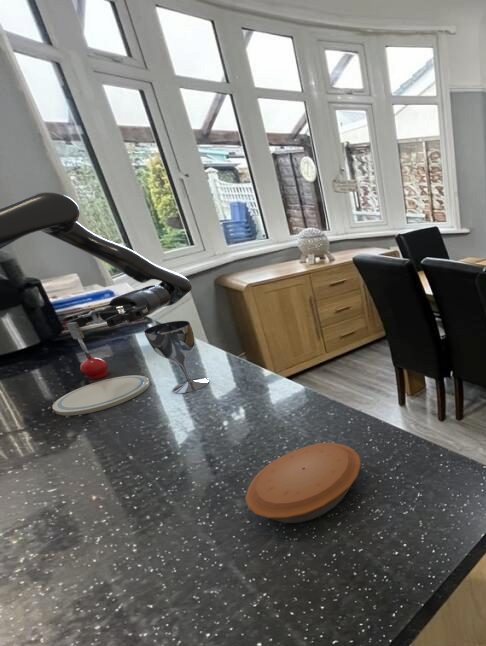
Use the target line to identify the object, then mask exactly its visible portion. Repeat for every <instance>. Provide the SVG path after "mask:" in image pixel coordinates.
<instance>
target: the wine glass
mask: <svg viewBox="0 0 486 646" xmlns="http://www.w3.org/2000/svg"><path fill="white" fill-rule="evenodd" d="M193 331H194V330H193V328H192V326H191V323H190V322H189V321H187V320H174V321H173V320H172V321H168V322H163V323H160V324H155V325H152V326H150V327H148V328H146V329H145V330H144V331H143V333H144V335H145V338H146V340H147V341H148V344H149V345H150V346H151V348H152V349H153V350H154V352H155V353H156V354H157V355H159V356H160V357H162V358H164V359H166V360H169V361H171V362H174V363H175V364H176V365H178V366H179V368H180V369H181V371H182V373H183V374H184V377H185V379H186V380H185V381H182V382H181V383H179V384H177V385H176V386H174V387H173V388H172V392H173V393H174V394H186V393H191V392H194V391H197V390H200V389H202V388H204V387H206V386H207V385H208V384H209V383H210V382H209V380H210V379H209V380H207V379H208V378H207V379H206V377H197V378H191V376H190V373H189V369H188V365H187V363H188V359H189V357H190V355H191V353H192V351H193V350H194V348H195V336H194V335H195V334H194V332H193ZM208 382H209V383H208Z"/></svg>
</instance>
